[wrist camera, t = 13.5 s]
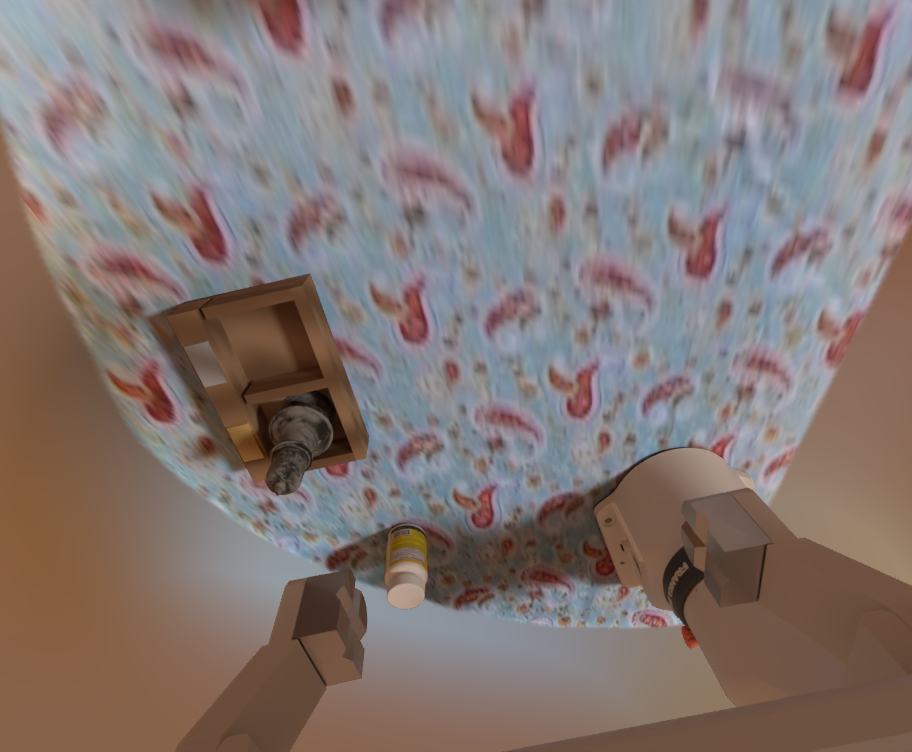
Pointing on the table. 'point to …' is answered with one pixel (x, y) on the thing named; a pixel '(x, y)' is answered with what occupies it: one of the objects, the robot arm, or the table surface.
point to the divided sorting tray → (269, 365)
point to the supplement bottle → (406, 566)
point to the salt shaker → (298, 439)
